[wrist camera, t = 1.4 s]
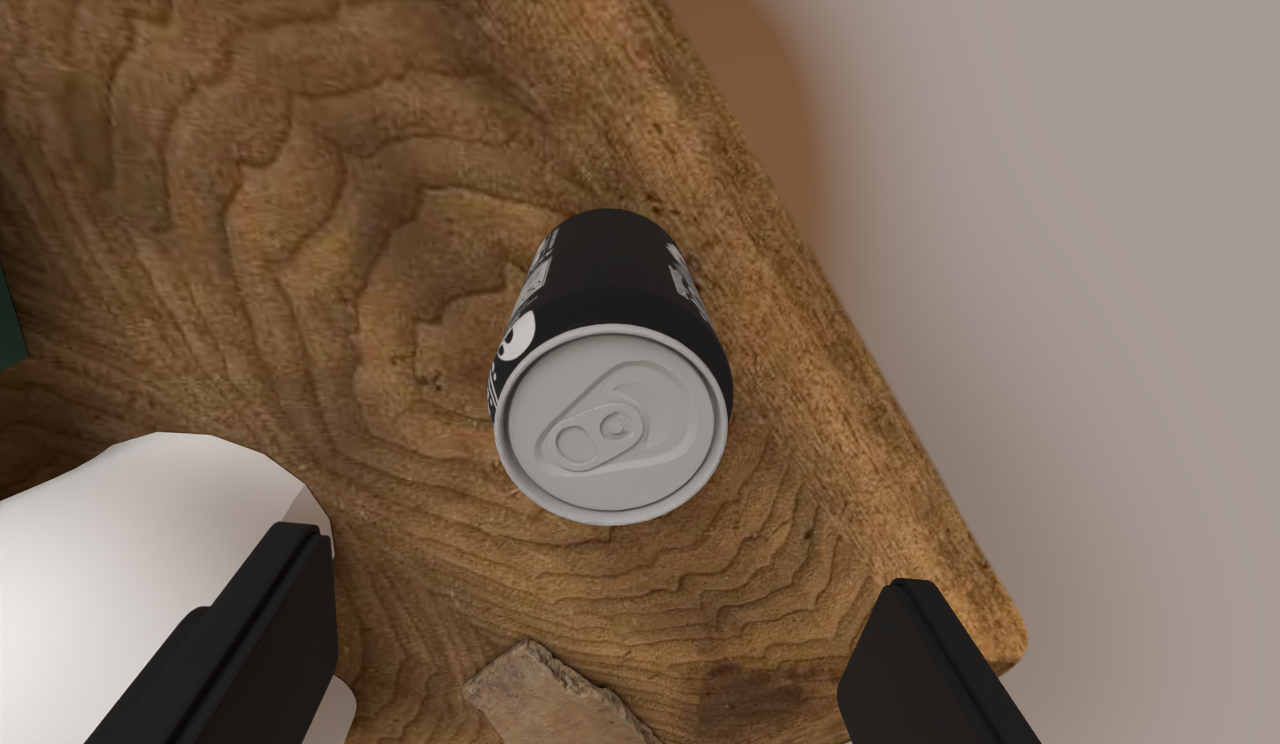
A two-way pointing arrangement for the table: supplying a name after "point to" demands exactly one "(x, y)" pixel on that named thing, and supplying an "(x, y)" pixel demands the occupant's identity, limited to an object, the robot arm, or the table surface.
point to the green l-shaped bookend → (9, 330)
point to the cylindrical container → (333, 715)
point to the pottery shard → (550, 702)
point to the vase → (123, 569)
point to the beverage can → (609, 375)
